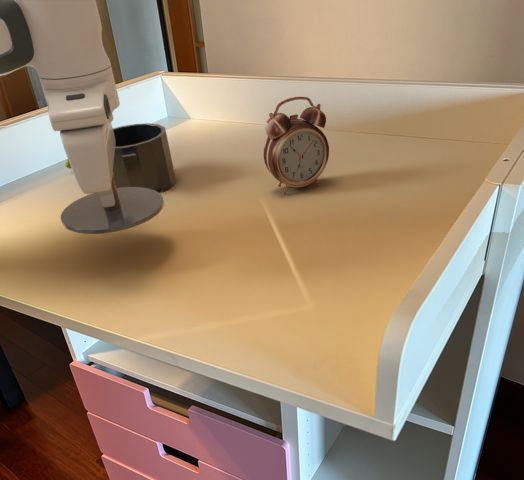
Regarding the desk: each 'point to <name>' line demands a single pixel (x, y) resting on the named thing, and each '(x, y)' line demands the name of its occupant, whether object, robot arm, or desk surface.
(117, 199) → the lid
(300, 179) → the alarm clock
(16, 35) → the robot arm
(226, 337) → the desk surface
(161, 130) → the pot
